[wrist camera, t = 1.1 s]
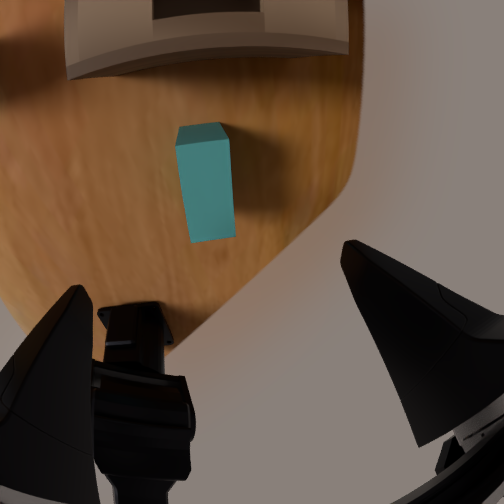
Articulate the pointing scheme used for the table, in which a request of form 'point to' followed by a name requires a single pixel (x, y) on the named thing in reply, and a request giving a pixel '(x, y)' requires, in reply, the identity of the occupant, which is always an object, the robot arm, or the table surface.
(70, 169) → the table surface
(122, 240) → the table surface
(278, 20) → the wooden box
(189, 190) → the teal block
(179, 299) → the table surface
